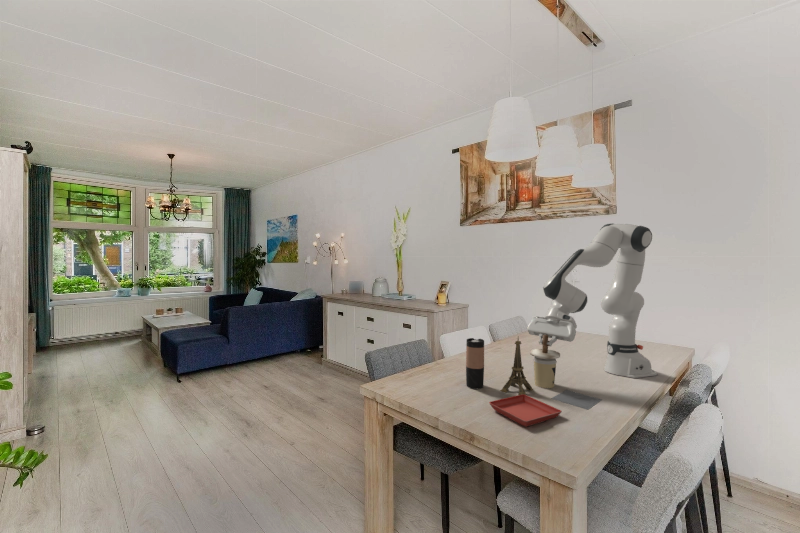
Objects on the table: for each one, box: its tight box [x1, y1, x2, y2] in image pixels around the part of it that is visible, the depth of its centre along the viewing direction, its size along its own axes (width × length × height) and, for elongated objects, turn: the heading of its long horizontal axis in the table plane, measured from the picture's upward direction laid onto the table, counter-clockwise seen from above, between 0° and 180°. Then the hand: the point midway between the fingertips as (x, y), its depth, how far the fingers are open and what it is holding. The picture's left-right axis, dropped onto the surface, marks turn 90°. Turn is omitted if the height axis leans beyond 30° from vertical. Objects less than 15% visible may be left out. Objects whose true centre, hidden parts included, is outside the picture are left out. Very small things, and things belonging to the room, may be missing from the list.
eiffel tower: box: [499, 337, 534, 395], centre depth 158 cm, size 11×11×25 cm
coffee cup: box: [533, 356, 558, 389], centre depth 164 cm, size 9×9×12 cm
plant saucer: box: [488, 394, 563, 428], centre depth 136 cm, size 18×18×3 cm
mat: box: [550, 389, 603, 411], centre depth 149 cm, size 14×14×1 cm
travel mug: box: [465, 337, 485, 390], centre depth 163 cm, size 8×8×20 cm
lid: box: [530, 335, 561, 360], centre depth 163 cm, size 12×12×8 cm
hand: (544, 344), depth 163 cm, fingers closed on lid, 2 cm apart
